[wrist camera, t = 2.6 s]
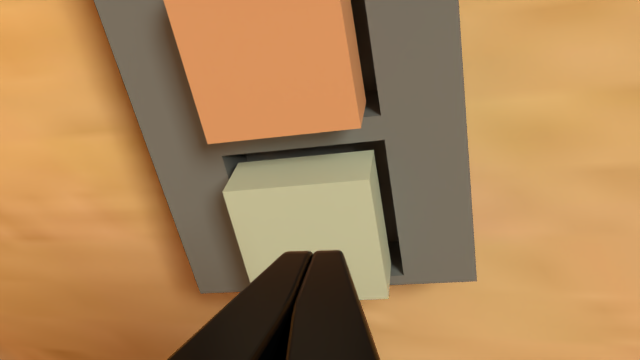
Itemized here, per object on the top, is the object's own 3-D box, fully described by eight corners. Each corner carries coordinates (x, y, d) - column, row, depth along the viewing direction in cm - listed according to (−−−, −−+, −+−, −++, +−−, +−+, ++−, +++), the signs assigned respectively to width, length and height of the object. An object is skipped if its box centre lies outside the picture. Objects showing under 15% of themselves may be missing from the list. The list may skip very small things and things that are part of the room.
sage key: (390, 263, 20) (388, 298, 18) (268, 269, 21) (256, 303, 19) (373, 150, 18) (369, 179, 16) (238, 162, 19) (222, 192, 17)
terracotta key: (366, 101, 17) (361, 128, 16) (225, 117, 18) (207, 144, 17) (342, -56, 15) (333, -44, 13) (183, -29, 16) (159, -14, 14)
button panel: (470, 232, 22) (476, 281, 20) (222, 248, 24) (200, 293, 22) (426, -409, 13) (428, -461, 11) (45, -296, 16) (-23, -319, 13)
